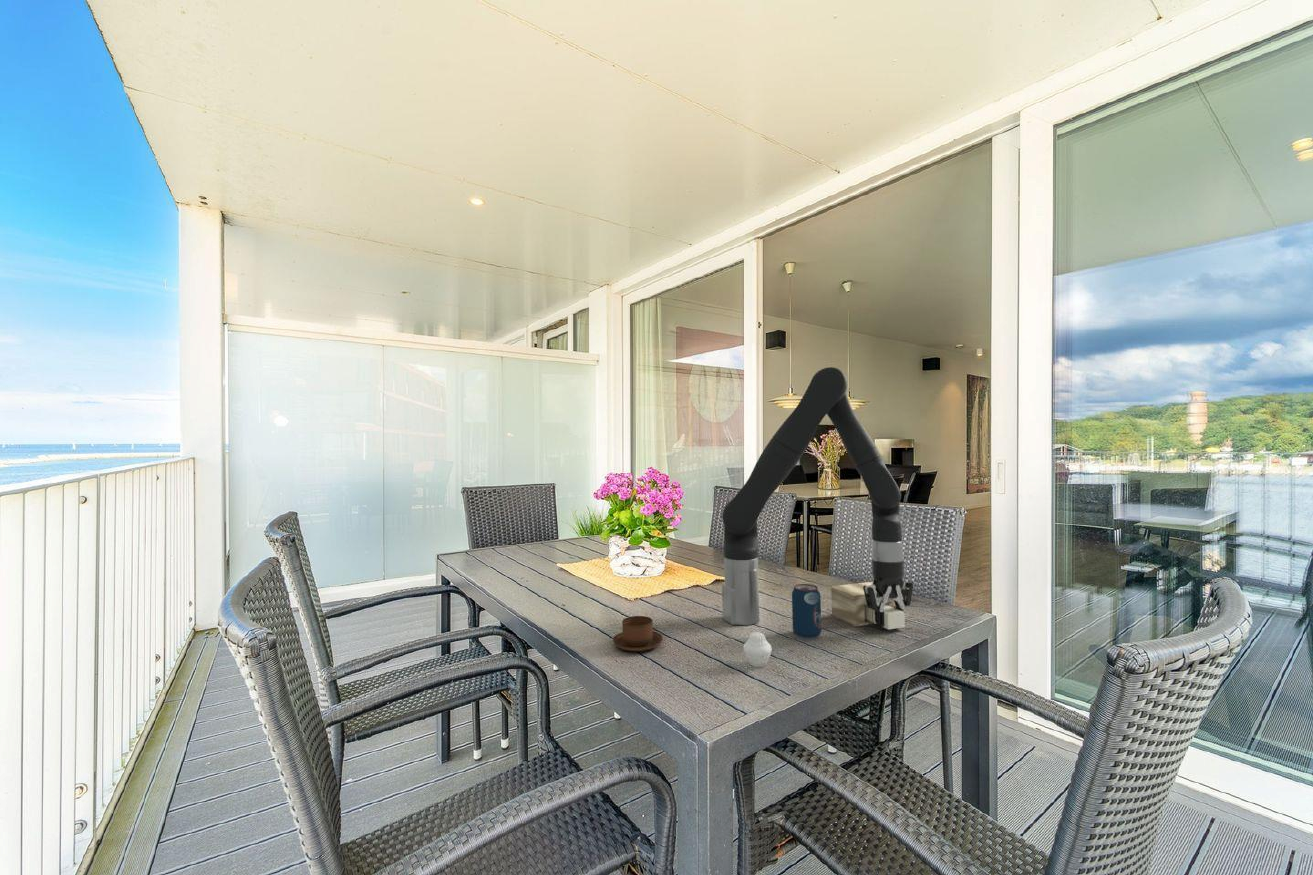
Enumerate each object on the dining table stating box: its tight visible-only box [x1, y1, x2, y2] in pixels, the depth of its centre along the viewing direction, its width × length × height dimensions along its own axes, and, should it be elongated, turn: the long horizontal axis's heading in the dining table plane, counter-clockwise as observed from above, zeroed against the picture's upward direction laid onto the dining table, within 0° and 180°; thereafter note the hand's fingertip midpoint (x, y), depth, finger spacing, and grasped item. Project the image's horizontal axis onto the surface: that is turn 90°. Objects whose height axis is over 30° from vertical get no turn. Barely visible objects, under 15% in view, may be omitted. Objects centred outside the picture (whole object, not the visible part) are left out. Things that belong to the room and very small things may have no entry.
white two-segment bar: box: [864, 605, 906, 630], centre depth 140 cm, size 5×14×4 cm, turn 17°
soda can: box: [791, 583, 822, 640], centre depth 133 cm, size 7×7×12 cm
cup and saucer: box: [612, 615, 663, 652], centre depth 128 cm, size 12×12×6 cm
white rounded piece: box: [742, 631, 773, 668], centre depth 116 cm, size 6×6×7 cm
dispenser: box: [830, 581, 895, 627], centre depth 145 cm, size 14×11×8 cm
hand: (889, 623), depth 136 cm, fingers closed on white two-segment bar, 5 cm apart
